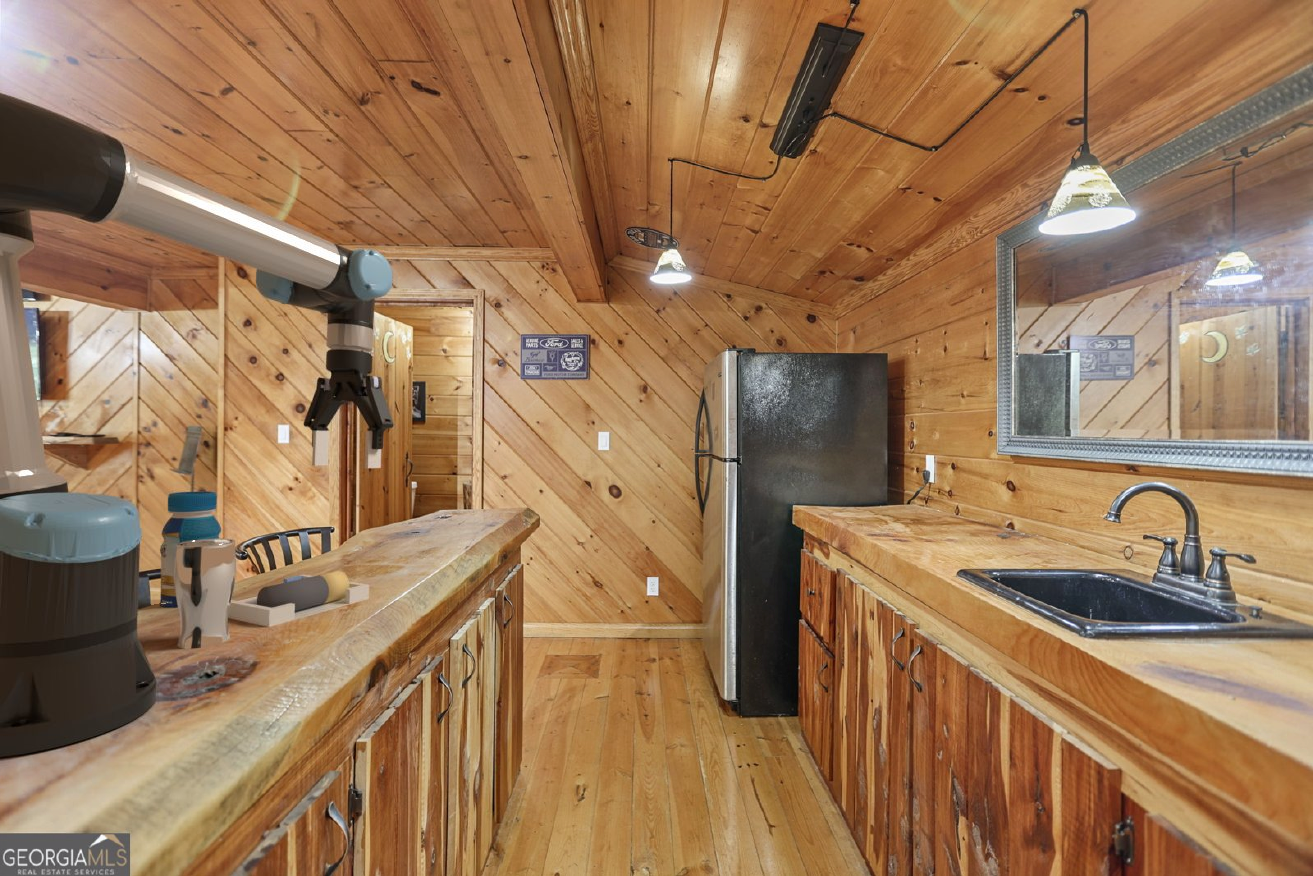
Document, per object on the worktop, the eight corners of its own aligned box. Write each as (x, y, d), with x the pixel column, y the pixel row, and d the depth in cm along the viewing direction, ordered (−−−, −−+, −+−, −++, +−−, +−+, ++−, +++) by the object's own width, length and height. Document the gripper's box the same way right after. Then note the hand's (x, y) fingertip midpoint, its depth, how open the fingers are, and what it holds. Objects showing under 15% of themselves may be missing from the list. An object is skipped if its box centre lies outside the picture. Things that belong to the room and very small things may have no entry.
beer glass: (246, 641, 86) (248, 539, 86) (205, 658, 79) (207, 547, 79) (203, 638, 86) (205, 537, 86) (158, 655, 79) (161, 545, 79)
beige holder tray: (269, 633, 89) (269, 610, 89) (199, 617, 96) (200, 596, 96) (368, 604, 106) (369, 584, 106) (303, 592, 113) (304, 574, 113)
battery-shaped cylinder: (276, 620, 92) (277, 588, 92) (256, 616, 94) (257, 585, 94) (349, 600, 104) (349, 572, 104) (329, 597, 106) (330, 569, 106)
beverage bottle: (205, 612, 99) (208, 494, 99) (147, 615, 97) (149, 495, 97) (229, 599, 107) (231, 490, 107) (176, 601, 105) (178, 490, 105)
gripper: (417, 351, 105) (413, 468, 105) (321, 357, 115) (317, 464, 115) (382, 344, 98) (378, 469, 98) (284, 350, 108) (280, 464, 108)
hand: (345, 467), depth 106 cm, fingers open, 13 cm apart
